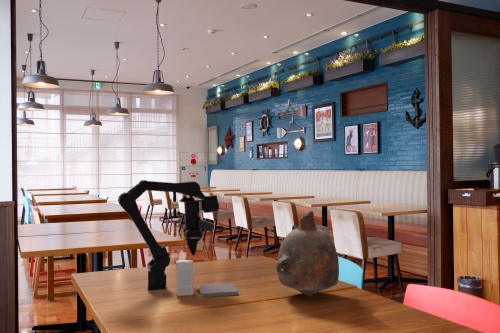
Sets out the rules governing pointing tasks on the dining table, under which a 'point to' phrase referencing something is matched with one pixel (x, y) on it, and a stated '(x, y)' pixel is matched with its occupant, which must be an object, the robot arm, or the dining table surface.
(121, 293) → the dining table surface
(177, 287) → the skincare box
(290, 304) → the dining table surface
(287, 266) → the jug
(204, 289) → the slate tile
